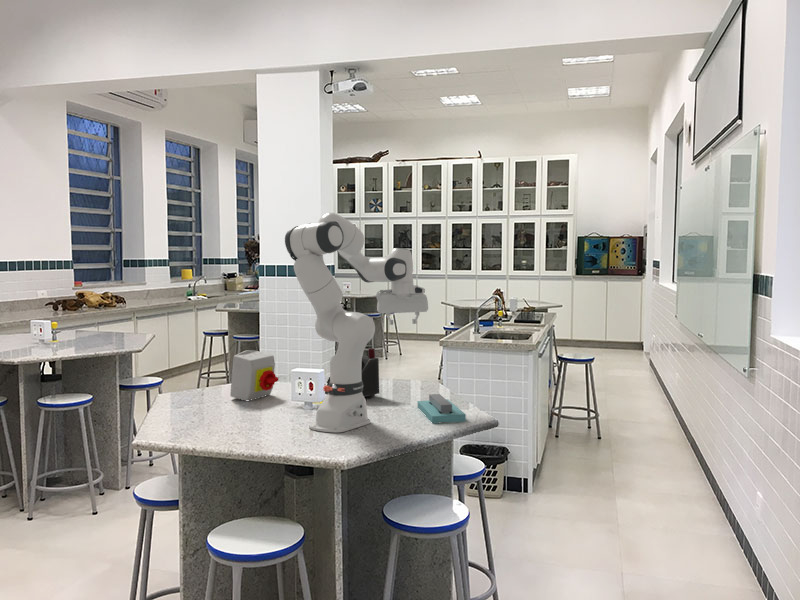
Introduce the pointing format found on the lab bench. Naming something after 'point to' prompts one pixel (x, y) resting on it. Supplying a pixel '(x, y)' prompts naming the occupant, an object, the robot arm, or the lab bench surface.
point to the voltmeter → (369, 374)
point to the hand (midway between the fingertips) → (402, 324)
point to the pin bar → (440, 403)
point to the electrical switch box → (252, 375)
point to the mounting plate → (436, 415)
